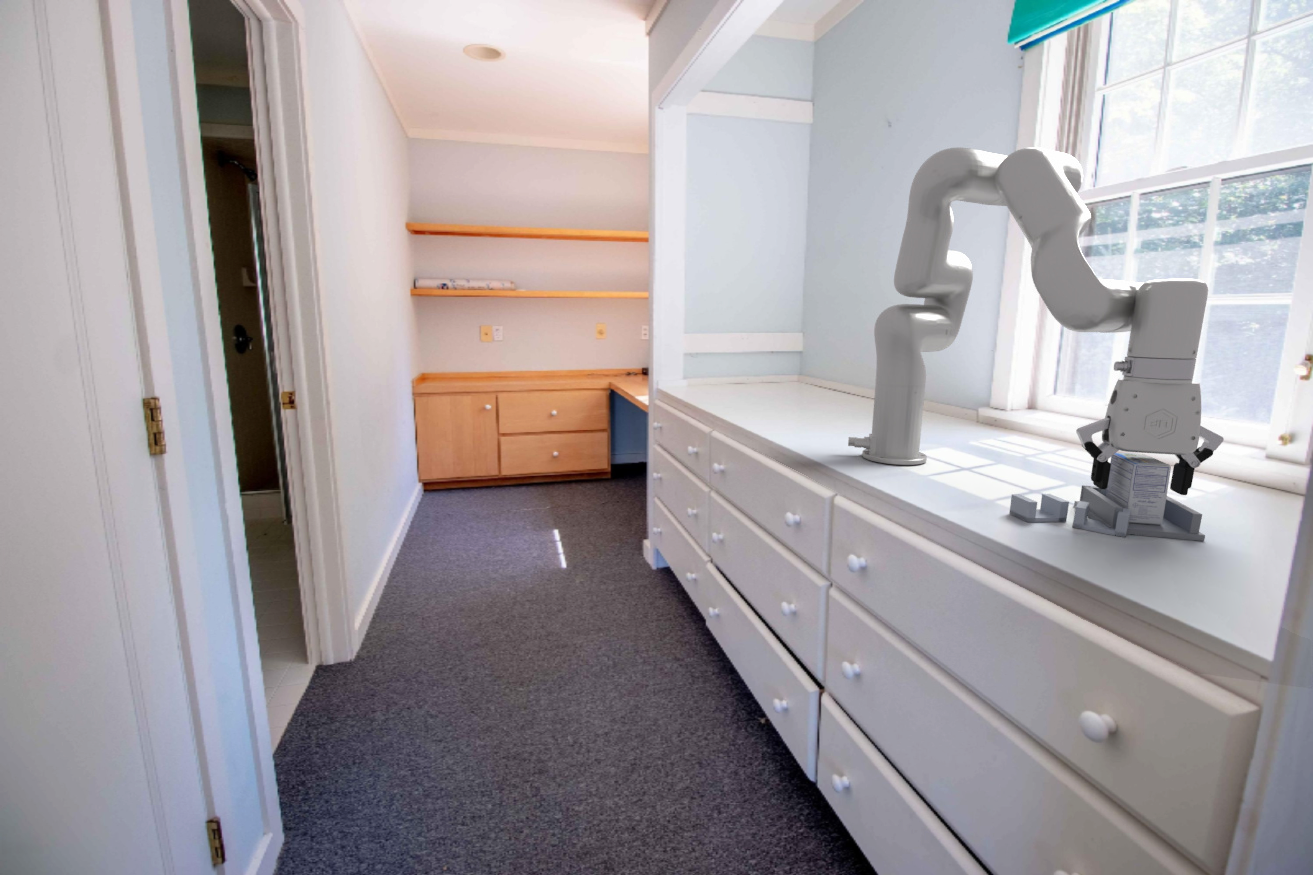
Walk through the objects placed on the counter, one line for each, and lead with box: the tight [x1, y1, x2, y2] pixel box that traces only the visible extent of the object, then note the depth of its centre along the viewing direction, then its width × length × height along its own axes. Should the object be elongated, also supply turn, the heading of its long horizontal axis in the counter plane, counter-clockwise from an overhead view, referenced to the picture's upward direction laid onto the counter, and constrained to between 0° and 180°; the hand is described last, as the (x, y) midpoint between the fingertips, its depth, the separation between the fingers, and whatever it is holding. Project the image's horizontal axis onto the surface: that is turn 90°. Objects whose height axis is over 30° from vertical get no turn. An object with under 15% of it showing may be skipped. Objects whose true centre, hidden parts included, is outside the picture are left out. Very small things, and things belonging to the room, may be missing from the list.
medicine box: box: [1106, 452, 1172, 525], centre depth 89 cm, size 8×4×9 cm, turn 164°
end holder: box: [1073, 484, 1206, 542], centre depth 89 cm, size 11×13×4 cm
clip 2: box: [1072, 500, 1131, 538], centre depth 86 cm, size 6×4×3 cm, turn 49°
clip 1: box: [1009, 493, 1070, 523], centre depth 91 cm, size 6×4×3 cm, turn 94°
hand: (1138, 489), depth 89 cm, fingers open, 9 cm apart
